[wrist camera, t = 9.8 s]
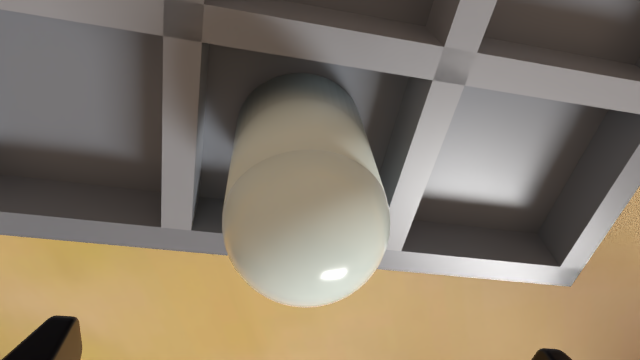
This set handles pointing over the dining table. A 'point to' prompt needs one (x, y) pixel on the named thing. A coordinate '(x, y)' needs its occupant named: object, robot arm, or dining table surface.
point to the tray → (371, 101)
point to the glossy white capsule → (303, 194)
